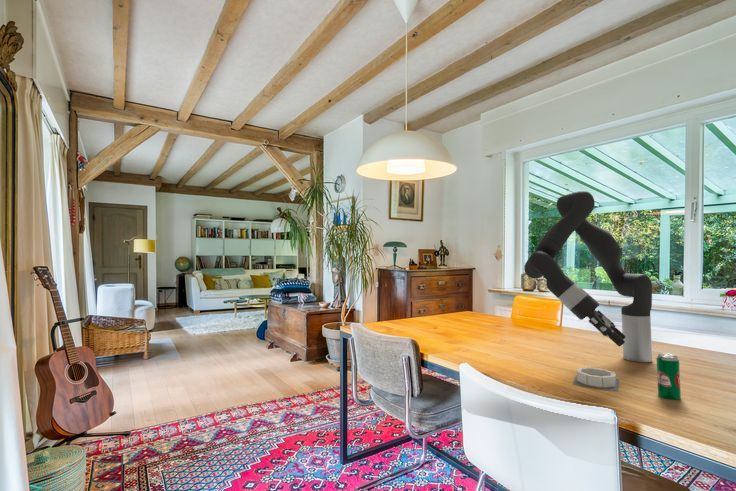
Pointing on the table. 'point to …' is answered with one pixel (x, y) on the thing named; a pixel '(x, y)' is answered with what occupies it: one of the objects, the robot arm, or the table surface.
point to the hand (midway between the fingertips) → (622, 341)
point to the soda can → (668, 376)
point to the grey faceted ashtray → (596, 377)
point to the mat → (597, 387)
